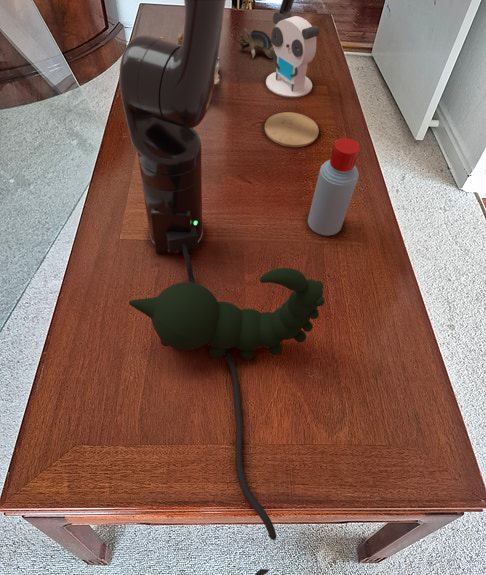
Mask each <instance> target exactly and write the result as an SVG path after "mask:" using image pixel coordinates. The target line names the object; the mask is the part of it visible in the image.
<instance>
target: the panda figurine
mask: <svg viewBox="0 0 486 575" xmlns="http://www.w3.org/2000/svg"><path fill="white" fill-rule="evenodd" d="M272 21H273V24H274V25H275V26H274V27H273V29H272V31H271V35H270V39H271V42H272V43H271V44H272V47H273V51H274V53H275V55H274V58H273V64H274V65H275V68H276V69H275V72H272V73H270V74H269V75H268V76H267V77H266V79H265V84H266V87H267V88H268V90H269V91H270V92H272V93H273V94H275V95H278V96H280V97H285V98H300V97H304V96H306V95H308V94H309V93H311V91H312V88H313V83H312V81H311V79H310V78H309V77H308V76H307V71H308V65H309V63H311V62H312V61H313V60H314V58H315V56H316V54H317V37H318V36H320V27H319V26H318V25H312V24H311V23H310V22H309V21H308V20H306V19H305V18H303V17H302V16H297V15H294V16H292V11H291V10H290V11H289V12H287V13H286V14H281V13H279V11H276V12H274V14H273V16H272Z"/></svg>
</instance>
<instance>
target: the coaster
mask: <svg viewBox="0 0 486 575" xmlns="http://www.w3.org/2000/svg"><path fill="white" fill-rule="evenodd" d="M264 132H265V134H266V136H267V137H268V139H270V140H271V141H272V142H273V143H276V144H278V145H281V146H284V147H288V148H302V147H307V146H309V145H311V144H313V143H314V142H315V141H316V140H317V139H318V138H319V133H320V129H319V126H318V124H317V123H316V122H315V121H314V120H313V119H312V118H310V117H309V116H306V115H304V114H301V113H298V112H291V111H290V112H289V111H286V112H284V111H283V112H278V113H275V114H272V115H271V116H269V117H268V118H267V120H266V121H265V123H264Z"/></svg>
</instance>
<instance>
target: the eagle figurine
mask: <svg viewBox="0 0 486 575" xmlns="http://www.w3.org/2000/svg"><path fill="white" fill-rule="evenodd" d="M244 31H245V33H246V35H247V37H248V38H246V39H245V36H243V34H241V33H240V34H239V38H236V41H237V44H239V45H240V49H241V50H240V51H241V52H243V51H244V50H245V49H247V48H249V51H250V52H251V55H252V56H251V57H252V58H251V59H254V58H255V57H256V49H257V50H260V51H261V52H262V53H264V55H265V56H267V58H269V59H274V57H275V54H274V53H273V51H272V50H271V48H272V47H273V44H272V42H271V36H269V35H268V34H267V33H266V32H264V31H262V30H256V29H254V30H252V31H251V32H248V29H247V28H244Z"/></svg>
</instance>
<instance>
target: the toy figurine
mask: <svg viewBox="0 0 486 575" xmlns="http://www.w3.org/2000/svg"><path fill="white" fill-rule="evenodd" d="M259 282H260V283H262V284H267V283H271V284H276V285H279V286H282V287H285V288H286V289H288V290H290V291H292V292H291V293H290V294H289V296H288V299H287V300H286V301H284V302H283V303H282V304H281V306H280V307H278V308H276V309H275V310H274V311H273V312H272V311H265V312H261V311H259V310H257V309H254V308H249V307H248V308H241V309H240V308H239V307H238V306H237V305H235V304H233V303H232V302H227V301H218V299H217V298H216V296H215V295H214V293H213V292H212V291H211V290H210V289H209V288H207V287H206V286H204V285H203V284H199V283H196V282H195V283H192V282H189V281H182V282H177V283H174V284H171V285H169V286H167V287H166V288H164V289H163V290H162V291H161V292H159V294H158V295H157V296H155V297H147V298H146V297H145V298H138V299H131V300H129V302H128V304H129V305H130V306H131V307H132V308H134V309H135V310H138V311H139V312H141V313H142V314H144V315H146V316H147V317H149V318H150V320H151V324H152V326H153V329H154V331H155V333H156V335H157V336H158V338H159V339H160V343H161V345H162V346H163V347H171V348H173V349H177V350H183V351H188V350H189V351H190V350H196V349H198V348H201V347H203V346H205V345H207V346H208V353H209V355H210V357H212V358H214V359H220V358H223V357H225V355H224V354H225V353H226V349H231V348H233V347H234V348H236V349H237V350H239V356H240V357H241V359H243V360H245V361H248V360H251V359H252V358H253V356H254V355H255V350H258V349H260V348H261V347H263V348H268V351H269V354H270V355H271V356H275V357H276V356H279V355H281V354H282V352H283V346H282V342H283V341H288V340H291V339H294V340H295V341H296V342H297V344H298V343H304V342H305V341H306V339H307V334H306V333H309V332H312V330H313V328H314V326H313V323H312V322H311V320H316V319H318V318H319V317H320V315H319V314H320V313H319V309H318V307H322V306H324V305H325V302H326V301H325V298H324V297H323V296H324V290H323V289H324V284H323V282H322V281H321V280H314V279H311V278H309V279H307V277H306V276H305V274H304V272H301V271H300V270H298V269H295V268H289V267H279V268H275V269H271V270H269V271H267V272H266V273H264V274H262V275H261V276H260V278H259Z"/></svg>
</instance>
